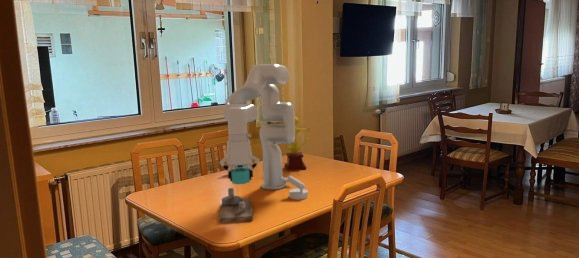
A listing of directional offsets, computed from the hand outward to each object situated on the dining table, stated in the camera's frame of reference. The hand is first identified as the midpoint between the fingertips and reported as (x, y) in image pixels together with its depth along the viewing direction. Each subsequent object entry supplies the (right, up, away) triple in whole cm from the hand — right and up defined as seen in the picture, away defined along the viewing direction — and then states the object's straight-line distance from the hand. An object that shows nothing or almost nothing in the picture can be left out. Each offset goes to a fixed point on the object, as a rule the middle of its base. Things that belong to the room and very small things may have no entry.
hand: (240, 179), depth 183 cm
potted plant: (+23, -2, +77) cm, 81 cm away
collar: (0, -1, 0) cm, 1 cm away
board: (-3, -15, +8) cm, 17 cm away
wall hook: (+24, -11, +26) cm, 37 cm away
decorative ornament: (-7, -4, +71) cm, 72 cm away
